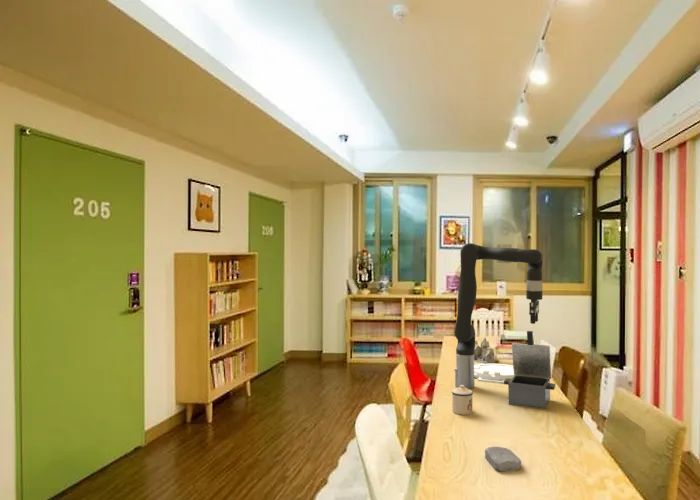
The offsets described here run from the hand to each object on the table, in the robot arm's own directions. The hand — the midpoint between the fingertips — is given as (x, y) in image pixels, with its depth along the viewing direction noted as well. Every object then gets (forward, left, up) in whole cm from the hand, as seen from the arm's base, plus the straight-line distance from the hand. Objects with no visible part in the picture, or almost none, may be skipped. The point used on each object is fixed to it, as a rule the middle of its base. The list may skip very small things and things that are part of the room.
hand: (534, 322), depth 244 cm
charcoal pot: (0, -15, -35) cm, 38 cm away
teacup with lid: (-24, -42, -36) cm, 60 cm away
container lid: (-25, +31, -36) cm, 54 cm away
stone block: (+3, -90, -36) cm, 97 cm away
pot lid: (0, -10, -15) cm, 18 cm away
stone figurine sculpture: (-42, +66, -36) cm, 86 cm away
